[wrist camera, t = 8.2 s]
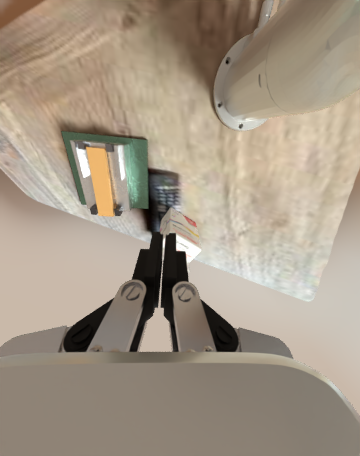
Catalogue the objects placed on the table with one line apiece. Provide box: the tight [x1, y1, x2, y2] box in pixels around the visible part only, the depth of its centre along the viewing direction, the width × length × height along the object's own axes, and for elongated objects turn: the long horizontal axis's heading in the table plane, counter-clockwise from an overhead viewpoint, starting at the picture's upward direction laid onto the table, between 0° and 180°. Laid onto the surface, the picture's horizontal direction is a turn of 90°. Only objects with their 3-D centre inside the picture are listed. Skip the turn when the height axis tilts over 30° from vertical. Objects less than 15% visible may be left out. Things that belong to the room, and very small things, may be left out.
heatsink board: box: [61, 131, 149, 216], centre depth 31 cm, size 15×16×7 cm
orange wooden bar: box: [86, 147, 115, 216], centre depth 29 cm, size 13×3×1 cm, turn 175°
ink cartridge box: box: [160, 207, 202, 272], centre depth 35 cm, size 9×5×15 cm, turn 54°
